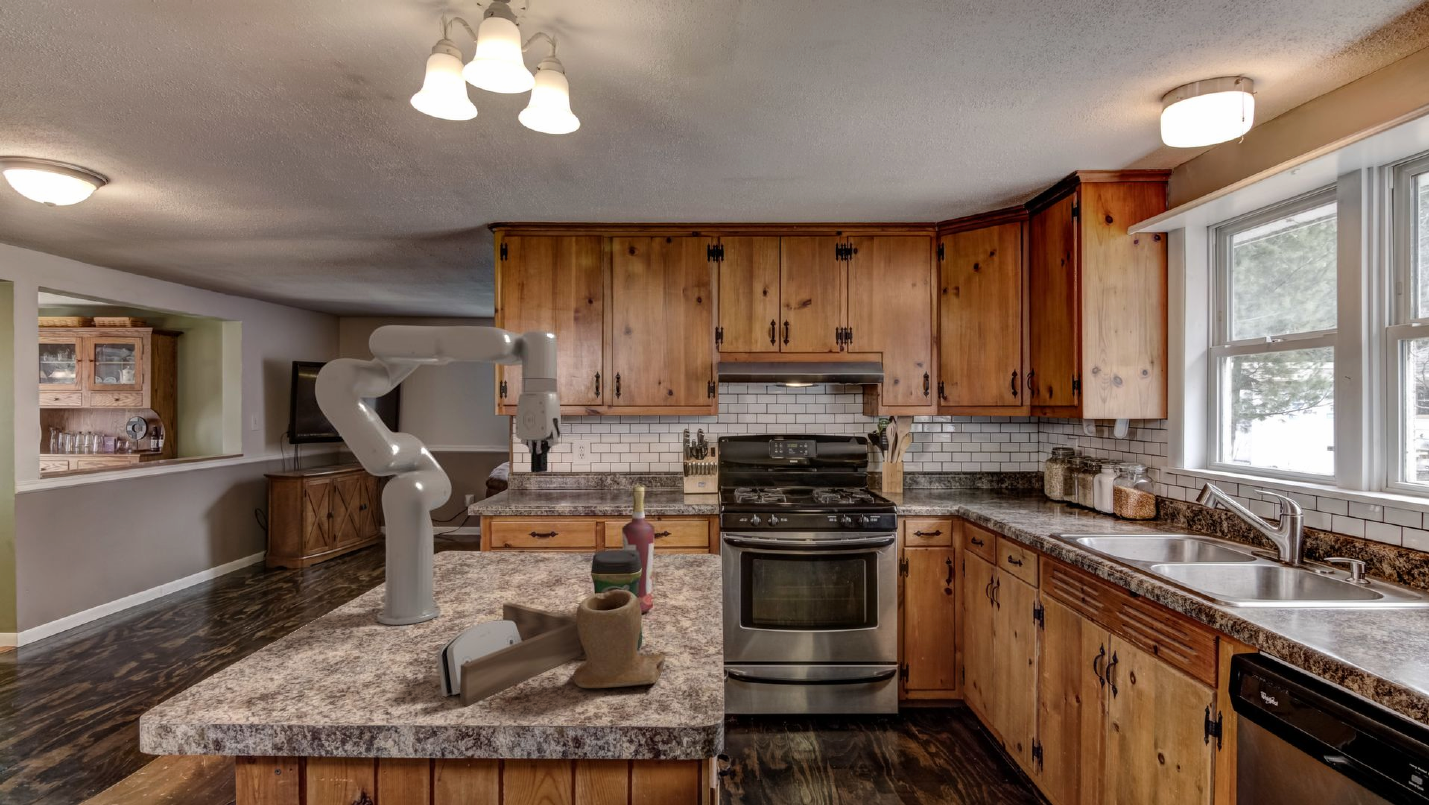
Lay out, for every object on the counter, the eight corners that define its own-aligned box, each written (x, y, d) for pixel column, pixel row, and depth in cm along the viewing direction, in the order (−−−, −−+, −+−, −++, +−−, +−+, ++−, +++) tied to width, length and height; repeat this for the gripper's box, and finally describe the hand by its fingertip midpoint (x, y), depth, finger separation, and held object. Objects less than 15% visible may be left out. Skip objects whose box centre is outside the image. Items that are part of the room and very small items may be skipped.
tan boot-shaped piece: (567, 701, 100) (567, 604, 100) (577, 670, 111) (578, 584, 112) (665, 698, 101) (665, 602, 101) (665, 668, 112) (665, 582, 113)
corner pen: (385, 675, 109) (386, 640, 109) (508, 632, 131) (509, 602, 131) (466, 706, 97) (466, 667, 98) (586, 653, 119) (586, 620, 120)
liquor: (658, 614, 143) (659, 488, 143) (626, 618, 140) (627, 489, 141) (648, 605, 150) (649, 484, 150) (618, 608, 147) (618, 486, 147)
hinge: (465, 702, 99) (449, 638, 100) (443, 707, 101) (428, 644, 102) (535, 663, 114) (520, 608, 116) (515, 668, 116) (500, 614, 118)
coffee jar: (643, 640, 126) (644, 546, 126) (640, 655, 118) (640, 554, 119) (594, 641, 126) (595, 546, 126) (587, 656, 118) (587, 554, 118)
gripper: (503, 388, 141) (502, 471, 141) (549, 386, 133) (549, 474, 133) (530, 389, 148) (529, 469, 147) (576, 387, 139) (576, 472, 139)
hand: (539, 471), depth 140 cm, fingers closed
